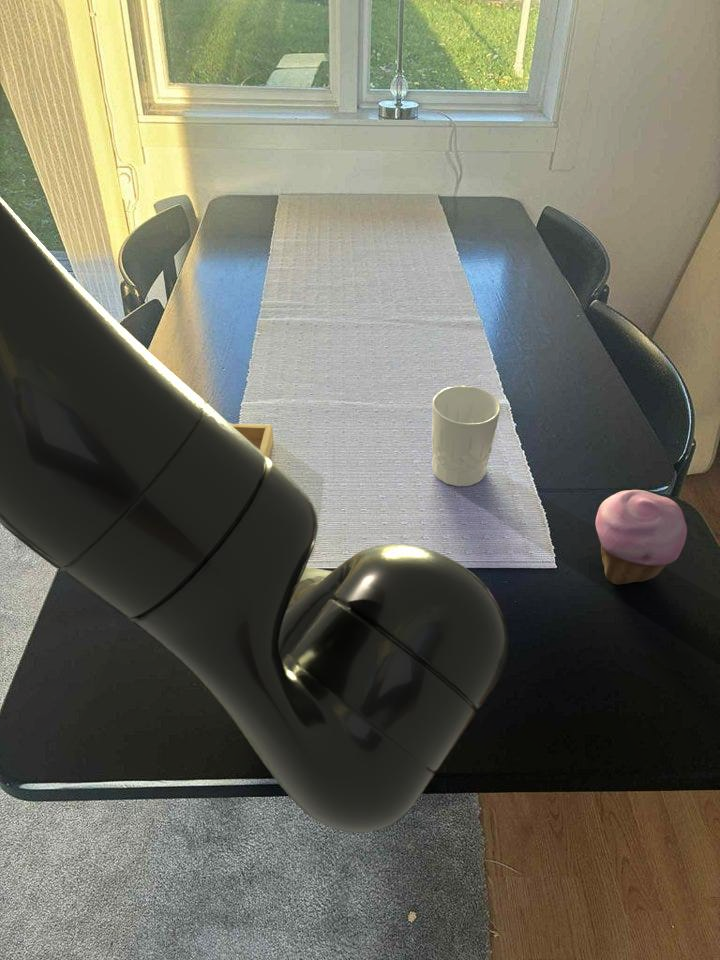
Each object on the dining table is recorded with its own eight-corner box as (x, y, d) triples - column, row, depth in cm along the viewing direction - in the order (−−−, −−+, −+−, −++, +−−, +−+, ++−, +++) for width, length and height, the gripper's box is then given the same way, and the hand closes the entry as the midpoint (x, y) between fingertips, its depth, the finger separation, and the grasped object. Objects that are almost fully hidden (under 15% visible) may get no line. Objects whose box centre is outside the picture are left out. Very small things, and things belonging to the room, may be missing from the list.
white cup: (430, 447, 92) (436, 382, 85) (491, 453, 91) (501, 388, 84) (424, 486, 86) (429, 420, 79) (489, 493, 85) (499, 427, 78)
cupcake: (577, 539, 79) (596, 471, 72) (655, 542, 79) (682, 475, 72) (591, 600, 72) (615, 533, 66) (677, 605, 72) (709, 537, 65)
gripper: (407, 542, 45) (350, 543, 61) (179, 600, 41) (184, 585, 57) (435, 658, 44) (370, 627, 61) (208, 726, 41) (204, 675, 57)
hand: (280, 607), depth 59 cm, fingers closed on sauce bottle, 6 cm apart
